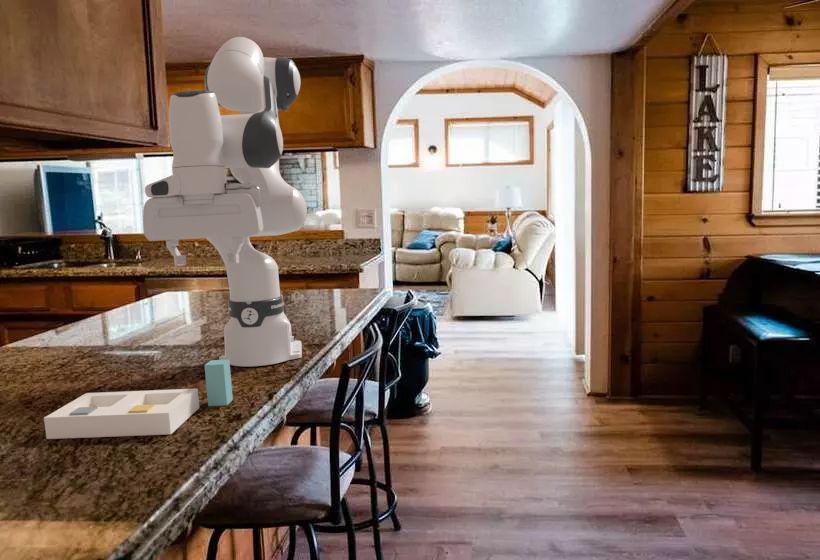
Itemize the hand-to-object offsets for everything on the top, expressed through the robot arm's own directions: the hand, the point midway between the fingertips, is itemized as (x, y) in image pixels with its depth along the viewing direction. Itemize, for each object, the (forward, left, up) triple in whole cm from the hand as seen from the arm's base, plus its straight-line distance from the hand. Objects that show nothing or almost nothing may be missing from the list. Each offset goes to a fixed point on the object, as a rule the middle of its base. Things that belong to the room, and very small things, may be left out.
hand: (207, 264), depth 116 cm
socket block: (+9, -13, -25) cm, 29 cm away
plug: (0, 0, -25) cm, 25 cm away
